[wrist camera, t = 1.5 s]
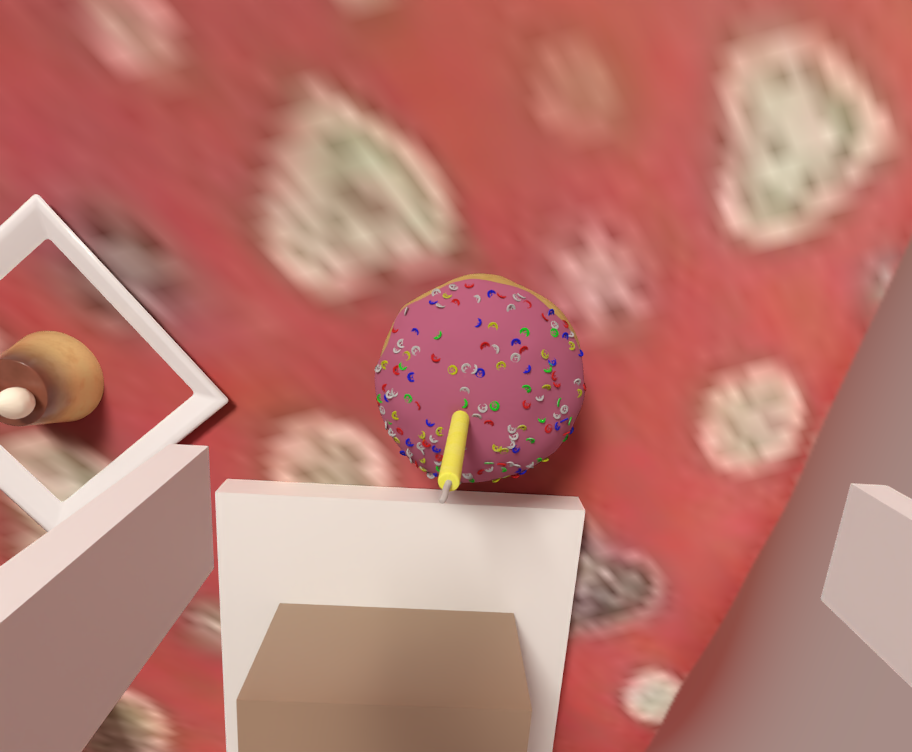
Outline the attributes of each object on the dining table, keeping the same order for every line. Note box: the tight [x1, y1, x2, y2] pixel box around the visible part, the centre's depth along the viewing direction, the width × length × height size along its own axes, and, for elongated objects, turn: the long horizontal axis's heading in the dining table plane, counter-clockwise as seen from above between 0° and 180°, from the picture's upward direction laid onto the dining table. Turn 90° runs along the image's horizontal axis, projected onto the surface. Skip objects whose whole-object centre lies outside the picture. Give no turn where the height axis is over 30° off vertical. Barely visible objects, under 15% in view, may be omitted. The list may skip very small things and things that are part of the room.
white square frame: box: [0, 194, 228, 532], centre depth 24 cm, size 12×12×5 cm
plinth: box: [215, 479, 585, 752], centre depth 27 cm, size 18×22×8 cm
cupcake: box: [375, 274, 586, 504], centre depth 21 cm, size 9×8×12 cm
